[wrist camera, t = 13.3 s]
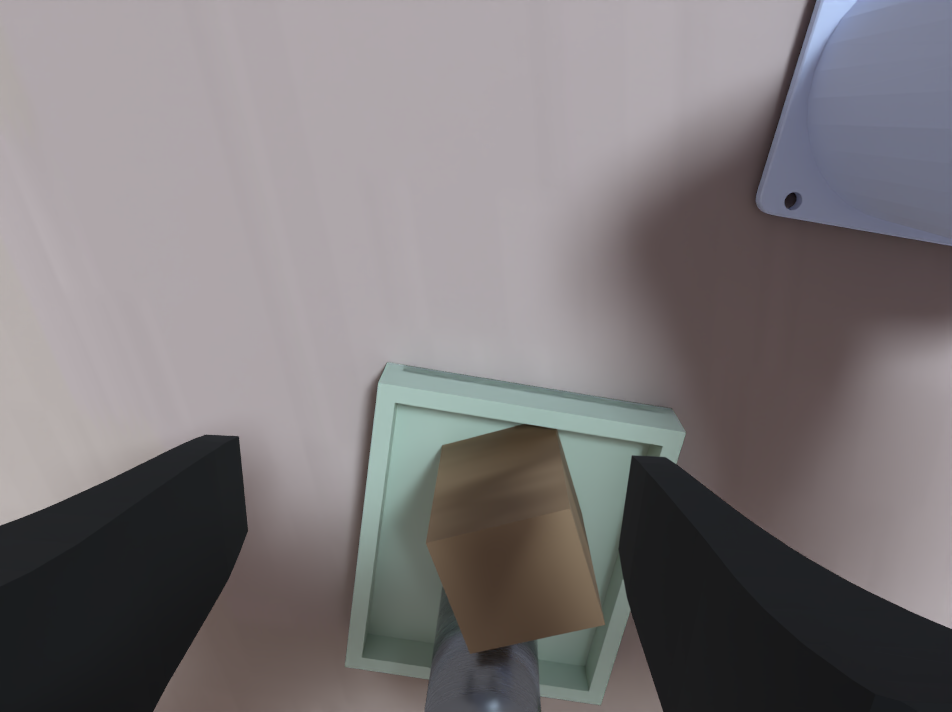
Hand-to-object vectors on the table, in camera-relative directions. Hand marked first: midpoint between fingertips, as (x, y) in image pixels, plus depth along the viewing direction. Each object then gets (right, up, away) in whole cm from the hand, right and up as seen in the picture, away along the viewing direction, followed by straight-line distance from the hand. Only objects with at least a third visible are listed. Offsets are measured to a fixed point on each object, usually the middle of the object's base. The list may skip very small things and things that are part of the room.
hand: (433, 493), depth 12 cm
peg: (+1, -7, +13) cm, 15 cm away
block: (+2, -2, +11) cm, 11 cm away
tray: (+2, -4, +13) cm, 13 cm away
